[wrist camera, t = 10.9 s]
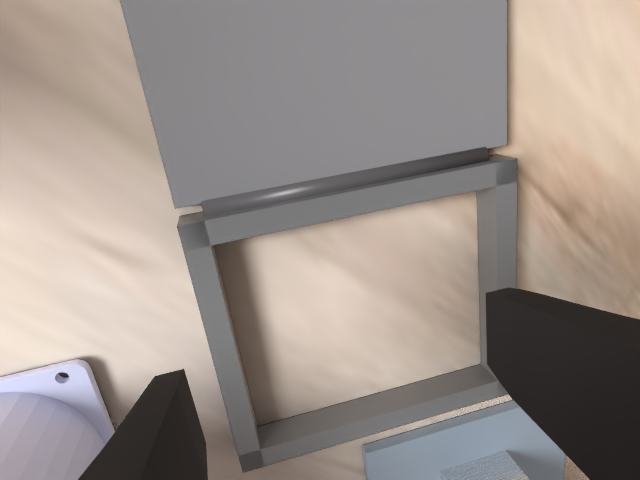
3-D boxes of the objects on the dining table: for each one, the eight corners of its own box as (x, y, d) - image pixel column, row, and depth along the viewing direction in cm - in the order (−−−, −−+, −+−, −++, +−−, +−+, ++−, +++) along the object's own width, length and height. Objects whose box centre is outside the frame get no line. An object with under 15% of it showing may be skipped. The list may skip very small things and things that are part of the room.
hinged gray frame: (241, 448, 22) (242, 473, 20) (77, -177, 13) (60, -208, 12) (497, 374, 24) (515, 392, 22) (492, -197, 16) (520, -226, 14)
